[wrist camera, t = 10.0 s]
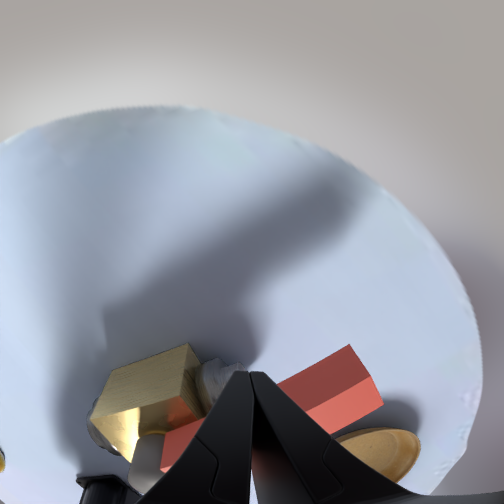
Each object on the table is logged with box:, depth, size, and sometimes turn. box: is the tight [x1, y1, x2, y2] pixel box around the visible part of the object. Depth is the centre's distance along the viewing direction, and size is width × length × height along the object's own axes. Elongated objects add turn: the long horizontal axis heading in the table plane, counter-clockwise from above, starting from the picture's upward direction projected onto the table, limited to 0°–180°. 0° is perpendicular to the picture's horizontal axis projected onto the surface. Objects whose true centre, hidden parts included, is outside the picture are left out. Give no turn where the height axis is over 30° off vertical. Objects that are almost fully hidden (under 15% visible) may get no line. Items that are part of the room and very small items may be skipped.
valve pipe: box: [87, 343, 246, 463], centre depth 20 cm, size 13×7×6 cm, turn 113°
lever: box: [127, 344, 384, 494], centre depth 15 cm, size 15×3×3 cm, turn 120°
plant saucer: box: [336, 427, 421, 483], centre depth 27 cm, size 15×15×3 cm
